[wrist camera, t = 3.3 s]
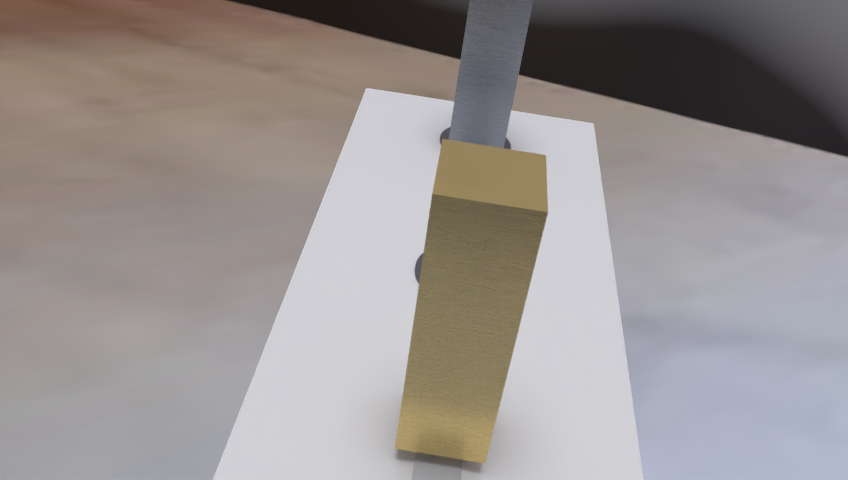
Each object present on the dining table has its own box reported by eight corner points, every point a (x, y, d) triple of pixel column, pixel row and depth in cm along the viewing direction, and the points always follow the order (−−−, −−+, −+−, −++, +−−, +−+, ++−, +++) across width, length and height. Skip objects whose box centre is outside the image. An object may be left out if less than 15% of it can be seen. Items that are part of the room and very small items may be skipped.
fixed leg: (500, 162, 44) (537, -21, 38) (446, 153, 44) (474, -30, 38) (502, 136, 46) (537, -39, 40) (450, 128, 46) (477, -48, 41)
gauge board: (642, 597, 26) (658, 566, 25) (208, 525, 26) (206, 491, 25) (587, 144, 50) (594, 120, 49) (364, 109, 50) (366, 85, 49)
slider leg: (484, 463, 26) (547, 212, 21) (394, 448, 27) (432, 193, 21) (489, 396, 29) (546, 155, 23) (406, 383, 29) (442, 138, 23)
